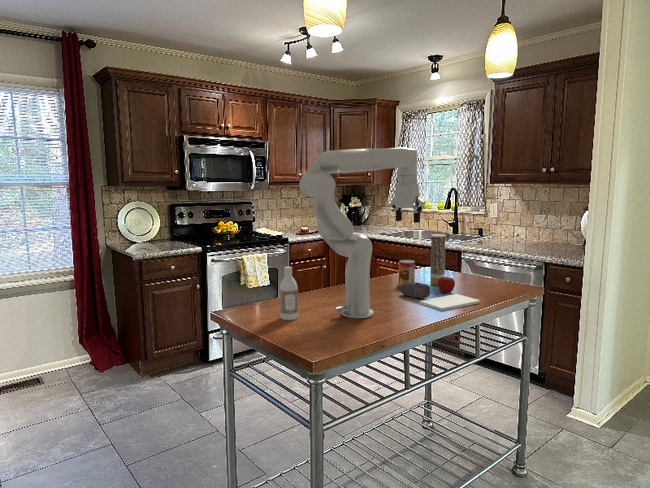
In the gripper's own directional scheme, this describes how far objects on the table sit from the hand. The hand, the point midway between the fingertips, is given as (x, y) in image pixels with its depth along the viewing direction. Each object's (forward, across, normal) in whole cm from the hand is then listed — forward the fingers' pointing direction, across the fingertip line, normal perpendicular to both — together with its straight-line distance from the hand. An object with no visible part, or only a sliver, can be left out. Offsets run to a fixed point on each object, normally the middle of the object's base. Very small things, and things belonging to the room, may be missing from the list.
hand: (407, 221), depth 189 cm
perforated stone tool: (+36, -6, +10) cm, 38 cm away
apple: (+36, -1, +28) cm, 46 cm away
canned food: (+36, -24, +26) cm, 50 cm away
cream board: (+36, +11, +14) cm, 40 cm away
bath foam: (+34, -16, -50) cm, 62 cm away
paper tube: (+36, -14, +38) cm, 54 cm away
